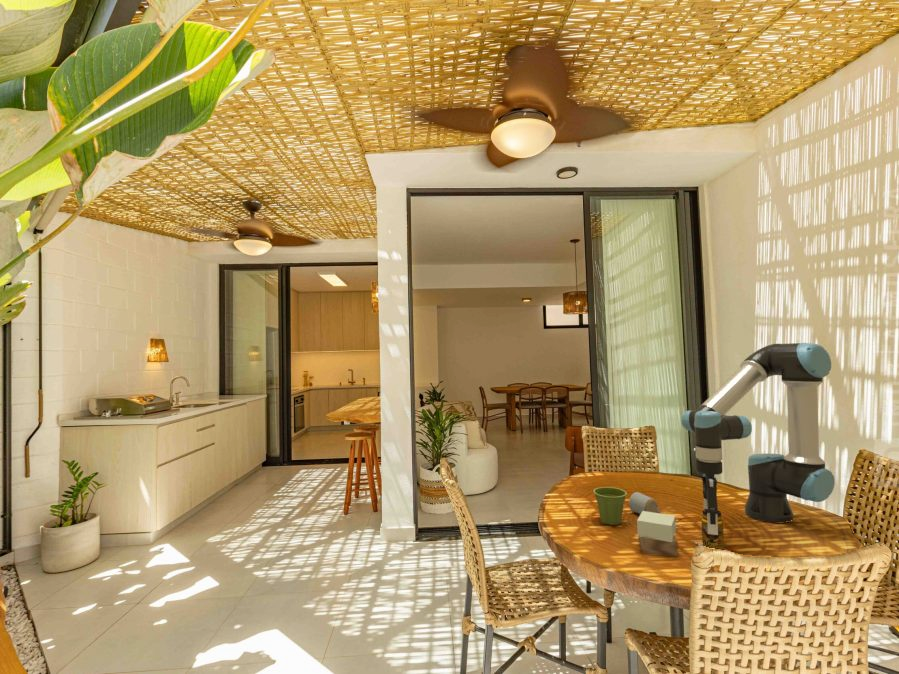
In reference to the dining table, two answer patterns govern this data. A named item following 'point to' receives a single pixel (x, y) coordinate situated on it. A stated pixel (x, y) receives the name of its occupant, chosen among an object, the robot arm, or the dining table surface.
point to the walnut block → (658, 547)
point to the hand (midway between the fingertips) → (710, 526)
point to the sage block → (656, 526)
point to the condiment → (711, 539)
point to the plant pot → (610, 504)
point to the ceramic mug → (642, 503)
